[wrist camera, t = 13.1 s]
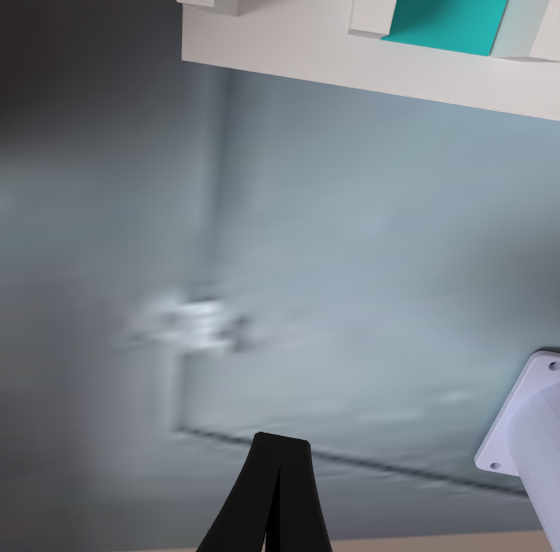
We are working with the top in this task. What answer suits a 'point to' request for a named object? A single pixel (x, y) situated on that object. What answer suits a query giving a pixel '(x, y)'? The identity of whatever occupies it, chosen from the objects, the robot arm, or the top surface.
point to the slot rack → (392, 47)
